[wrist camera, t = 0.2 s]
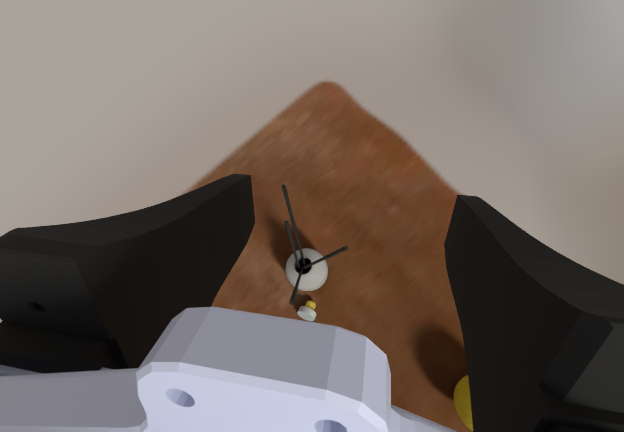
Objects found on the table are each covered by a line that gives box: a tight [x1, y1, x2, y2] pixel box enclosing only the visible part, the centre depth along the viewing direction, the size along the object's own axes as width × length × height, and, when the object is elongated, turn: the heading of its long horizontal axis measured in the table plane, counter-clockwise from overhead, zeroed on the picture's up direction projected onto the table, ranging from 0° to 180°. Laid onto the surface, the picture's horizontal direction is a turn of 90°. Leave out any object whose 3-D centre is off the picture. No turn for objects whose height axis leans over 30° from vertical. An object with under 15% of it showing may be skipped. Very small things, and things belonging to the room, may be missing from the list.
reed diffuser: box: [282, 185, 348, 321], centre depth 33 cm, size 10×7×20 cm
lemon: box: [454, 375, 473, 431], centre depth 34 cm, size 6×6×8 cm
